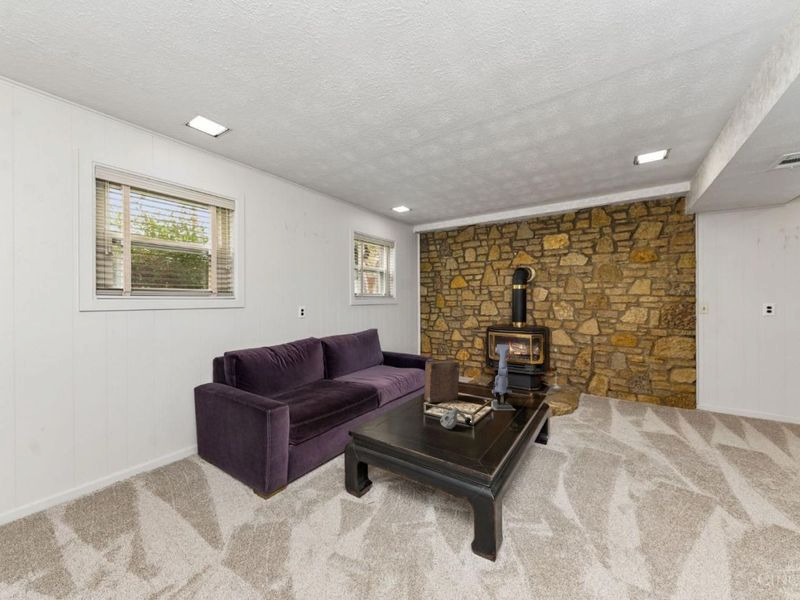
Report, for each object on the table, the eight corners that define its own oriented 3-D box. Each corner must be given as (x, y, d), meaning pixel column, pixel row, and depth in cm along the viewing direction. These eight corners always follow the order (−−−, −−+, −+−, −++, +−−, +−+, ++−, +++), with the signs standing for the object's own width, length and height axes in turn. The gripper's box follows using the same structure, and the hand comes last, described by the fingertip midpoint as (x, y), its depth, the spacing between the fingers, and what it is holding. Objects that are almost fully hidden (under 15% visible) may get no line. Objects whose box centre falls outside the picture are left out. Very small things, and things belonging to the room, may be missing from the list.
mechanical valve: (437, 421, 212) (451, 401, 215) (453, 435, 219) (466, 416, 222) (446, 428, 203) (461, 408, 206) (462, 443, 210) (476, 423, 213)
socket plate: (483, 400, 263) (483, 397, 263) (503, 400, 265) (503, 397, 265) (494, 411, 241) (494, 407, 241) (515, 411, 243) (515, 407, 243)
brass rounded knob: (497, 404, 251) (497, 394, 251) (502, 404, 251) (502, 394, 252) (499, 406, 247) (500, 395, 247) (504, 406, 248) (505, 395, 248)
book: (451, 396, 271) (453, 359, 270) (458, 399, 263) (459, 361, 262) (424, 399, 261) (425, 361, 260) (429, 403, 252) (431, 363, 251)
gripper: (494, 386, 244) (494, 404, 244) (514, 386, 245) (513, 404, 246) (491, 383, 251) (490, 401, 251) (509, 383, 252) (508, 401, 253)
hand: (501, 402), depth 249 cm, fingers closed on brass rounded knob, 4 cm apart
